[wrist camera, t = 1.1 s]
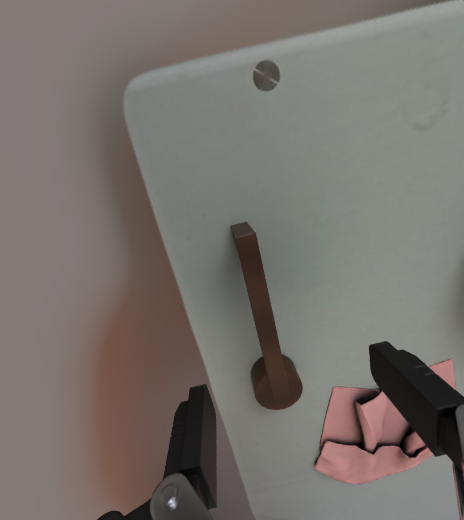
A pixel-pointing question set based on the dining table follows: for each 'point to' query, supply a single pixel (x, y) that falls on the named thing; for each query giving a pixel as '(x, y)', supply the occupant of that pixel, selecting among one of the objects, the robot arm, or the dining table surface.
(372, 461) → the cloth
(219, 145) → the dining table surface
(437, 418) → the robot arm
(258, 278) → the ladle
